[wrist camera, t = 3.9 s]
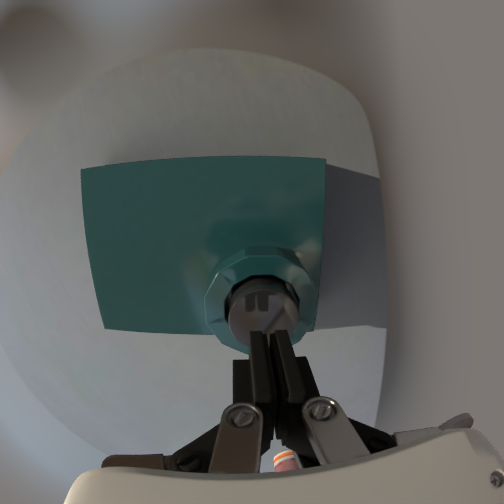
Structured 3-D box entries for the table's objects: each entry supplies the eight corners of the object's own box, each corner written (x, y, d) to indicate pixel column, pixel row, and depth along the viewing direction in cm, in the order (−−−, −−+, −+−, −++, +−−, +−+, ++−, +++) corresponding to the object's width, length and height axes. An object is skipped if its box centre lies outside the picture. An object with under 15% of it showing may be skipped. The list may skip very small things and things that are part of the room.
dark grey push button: (295, 276, 16) (301, 288, 14) (291, 332, 17) (296, 347, 16) (228, 277, 16) (227, 289, 14) (230, 334, 17) (229, 350, 15)
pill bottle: (268, 462, 29) (273, 510, 21) (282, 446, 28) (291, 499, 20) (297, 464, 30) (306, 509, 22) (314, 448, 29) (326, 497, 21)
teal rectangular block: (312, 160, 19) (336, 157, 14) (304, 315, 22) (319, 350, 17) (101, 168, 18) (65, 170, 13) (119, 314, 21) (96, 346, 17)
